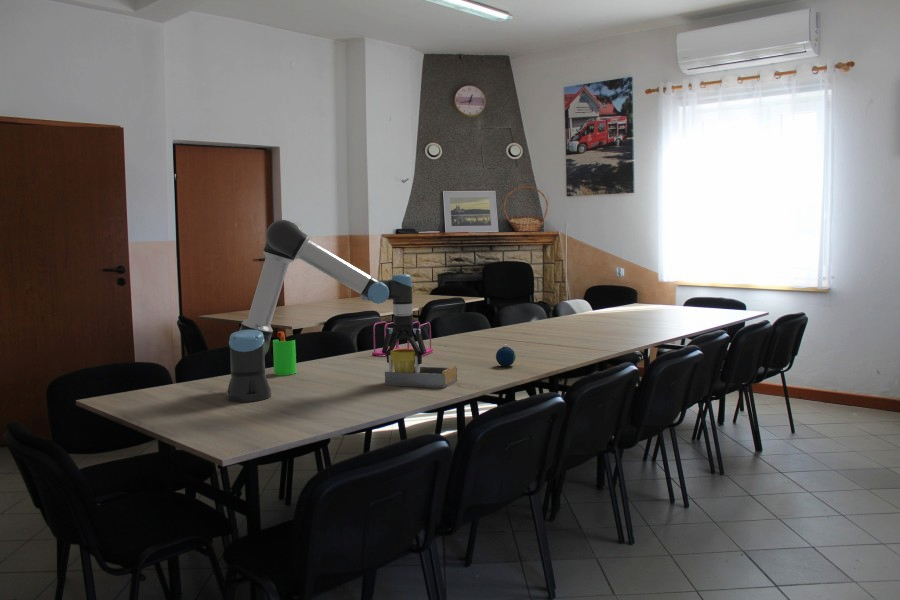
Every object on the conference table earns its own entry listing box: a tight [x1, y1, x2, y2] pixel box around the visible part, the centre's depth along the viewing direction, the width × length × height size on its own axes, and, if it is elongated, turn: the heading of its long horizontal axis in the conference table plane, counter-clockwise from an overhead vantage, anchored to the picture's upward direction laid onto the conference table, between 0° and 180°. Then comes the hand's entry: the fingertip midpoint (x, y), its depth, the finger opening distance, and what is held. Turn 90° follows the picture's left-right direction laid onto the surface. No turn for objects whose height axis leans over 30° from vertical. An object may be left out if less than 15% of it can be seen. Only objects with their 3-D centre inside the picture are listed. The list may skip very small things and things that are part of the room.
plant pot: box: [391, 349, 417, 373], centre depth 272 cm, size 10×10×10 cm
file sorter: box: [371, 320, 434, 357], centre depth 341 cm, size 17×25×16 cm
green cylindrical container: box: [272, 331, 297, 376], centre depth 294 cm, size 9×8×18 cm
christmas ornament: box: [495, 343, 516, 367], centre depth 302 cm, size 8×8×10 cm
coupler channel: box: [384, 365, 458, 389], centre depth 270 cm, size 14×24×6 cm, turn 70°
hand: (404, 372), depth 272 cm, fingers closed on plant pot, 10 cm apart
